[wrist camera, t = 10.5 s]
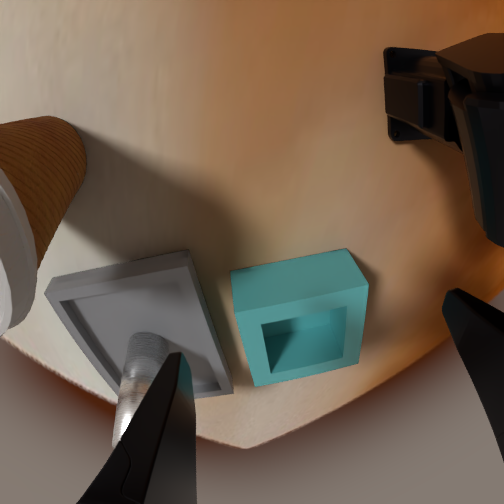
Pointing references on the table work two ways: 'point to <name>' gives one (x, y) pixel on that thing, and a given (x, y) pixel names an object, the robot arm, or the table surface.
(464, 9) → the table surface
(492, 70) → the robot arm
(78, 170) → the disposable coffee cup
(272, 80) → the table surface
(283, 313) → the teal square open box
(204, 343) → the charcoal tray
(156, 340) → the steel pin
